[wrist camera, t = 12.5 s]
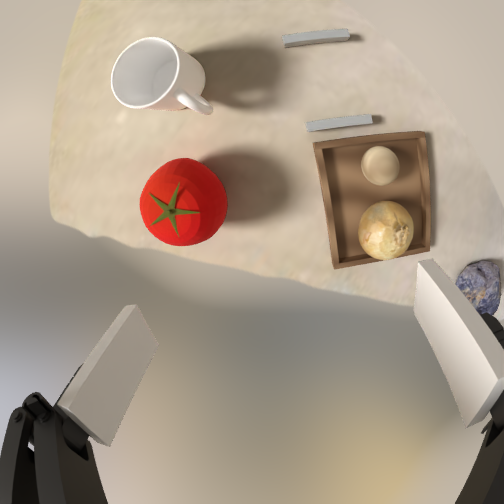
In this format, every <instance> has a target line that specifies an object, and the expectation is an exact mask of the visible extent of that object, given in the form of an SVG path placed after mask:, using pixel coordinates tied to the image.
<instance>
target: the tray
mask: <svg viewBox="0 0 504 504" xmlns="http://www.w3.org/2000/svg"><path fill="white" fill-rule="evenodd" d="M375 146H383V147H386V148H388V149H390V150H391V151H392V152H393V153H394V154H395V155H396V157H397V159H398V161H399V167H400V168H399V173H398V176H397V178H396V179H395V180H394V181H393V182H392V183H390V184H388V185H383V186H381V185H376V184H373V183H371V182H370V181H369V180H368V179H367V178H366V177H365V176H364V174H363V172H362V168H361V161H362V157H363V155H364V154H365V152H366V151H367V150H368V149H370V148H372V147H375ZM313 148H314V152H315V157H316V162H317V167H318V173H319V178H320V184H321V189H322V195H323V201H324V207H325V214H326V220H327V227H328V234H329V241H330V249H331V257H332V264H333V267H334V269H339V268H345V267H350V266H356V265H361V264H367V263H372V262H378V261H383V260H380V259H376V258H373V257H371V256H370V255H368V254H367V253H366V252H365V251H364V249H363V248H362V246H361V244H360V241H359V236H358V228H359V223H360V220H361V217H362V215H363V214H364V213H365V211H366V210H367V209H368V208H369V207H370V206H371V205H373V204H375V203H377V202H380V201H393V202H396V203H398V204H400V205H401V206H402V207H404V208H405V209H406V210H407V212H408V213H409V214H410V216H411V218H412V220H413V225H414V230H413V238H412V241H411V243H410V245H409V247H408V248H407V250H406V251H405V252H404V253H403V254H401V255H400V256H398V257H403V256H408V255H413V254H418V253H423V252H428V251H430V234H431V201H430V179H429V166H428V155H427V146H426V139H425V132H422V131H412V132H398V133H386V134H375V135H366V136H357V137H349V138H342V139H335V140H328V141H321V142H315V143H313ZM375 210H376V209H375ZM398 257H396V258H398Z"/></svg>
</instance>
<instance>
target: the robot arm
mask: <svg viewBox="0 0 504 504" xmlns="http://www.w3.org/2000/svg"><path fill="white" fill-rule="evenodd" d="M414 314H415V316H416V318H417V320H418V322H419V323H420V325H421V327H422V329H423V331H424V333H425V335H426V336H427V339H428V341H429V342H430V345H431V347H432V349H433V351H434V353H435V355H436V357H437V359H438V361H439V363H440V365H441V368H442V370H443V372H444V374H445V377H446V379H447V381H448V383H449V386H450V388H451V391H452V393H453V395H454V398H455V400H456V403H457V406H458V408H459V411H460V413H461V416H462V419H463V422H464V424H465V427H466V428H468V427H470V426H472V425H474V424H476V423H478V422H480V421H482V420H483V419H484V418H485V417H486V415H487V414H488V413H489V411H490V413H491V415H492V418H491V420H490V421H489V422H488V424H487V425H486V426H485V427H484V428H483V430H482V432H481V433H482V434H483V433H484V432H485V431H486V430H487V432H486V435H485V438H484V440H483V443H482V446H481V449H480V451H479V454H478V456H477V459H476V461H475V464H474V466H473V468H472V471H471V473H470V475H469V477H468V479H467V481H466V483H465V485H464V487H463V489H462V491H461V493H460V495H459V497H458V498H457V500H456V502H455V504H504V328H503V327H502V325H501V324H500V323H499V321H498V320H497V319H496V318H495V317H493V316H492V315H490V314H489V313H487V312H486V313H483V314H480V315H479V313H478V312H477V311H476V309H475V308H474V307H473V306H472V304H471V303H470V302H469V300H468V299H467V298H466V297H465V295H464V294H463V293H462V292H461V291H460V289H459V288H458V287H457V286H456V284H455V283H454V282H453V281H452V280H451V279H450V277H449V276H448V275H447V274H446V273H445V272H444V271H443V269H442V268H441V267H440V266H439V265H438V264H437V263H436V262H435V261H434V259H433V258H432V259H428V260H423V261H419V262H418V271H417V284H416V294H415V304H414ZM158 346H159V344H158V343H157V341H156V339H155V337H154V336H153V334H152V332H151V330H150V328H149V326H148V325H147V323H146V321H145V319H144V317H143V315H142V313H141V311H140V310H139V308H138V306H137V305H128V306H125V307H124V308H123V310H122V311H121V312H120V314H119V315H118V316H117V318H116V319H115V321H114V322H113V323H112V324H111V326H110V327H109V329H108V330H107V331H106V333H105V334H104V335H103V337H102V338H101V340H100V341H99V342H98V344H97V345H96V347H95V348H94V349H93V351H92V352H91V354H90V355H89V356H88V358H87V359H86V361H85V362H84V363H83V364H82V365H81V366H80V367H79V368H78V370H77V371H76V373H75V374H74V377H72V379H71V380H70V383H68V385H67V386H66V388H65V389H64V391H63V393H62V394H61V395H60V397H59V399H58V400H57V402H56V403H55V405H54V406H53V407H52V406H51V405H50V404H49V403H48V402H47V400H46V399H45V398H44V397H43V396H42V395H41V394H40V393H38V392H35V393H32V394H30V395H29V396H28V397H27V398H26V399H25V400H24V402H23V404H22V407H18V408H16V409H15V410H14V411H13V413H12V414H11V416H10V419H9V423H8V427H7V430H6V434H5V438H4V442H3V446H2V451H1V456H0V504H108V502H107V499H106V496H105V493H104V490H103V487H102V484H101V480H100V477H99V473H98V470H97V466H96V462H95V458H94V454H93V449H92V445H91V443H90V441H88V440H87V439H88V437H89V436H90V437H92V438H93V439H94V440H95V441H96V442H98V443H100V444H103V445H106V446H109V447H110V446H111V443H112V441H113V439H114V437H115V434H116V432H117V430H118V428H119V425H120V423H121V421H122V419H123V417H124V415H125V413H126V411H127V409H128V407H129V404H130V402H131V400H132V398H133V396H134V394H135V392H136V390H137V388H138V386H139V384H140V382H141V380H142V378H143V375H144V374H145V372H146V370H147V368H148V366H149V364H150V362H151V360H152V357H153V356H154V354H155V352H156V350H157V348H158ZM28 442H30V443H31V444H32V445H33V446H34V451H32V450H31V449H30V448H29V447H28Z"/></svg>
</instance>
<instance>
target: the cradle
mask: <svg viewBox="0 0 504 504" xmlns="http://www.w3.org/2000/svg"><path fill="white" fill-rule="evenodd" d="M349 37H350V35H349V32H348V29H335V30H322V31H312V32H304V33H296V34H289V35H283V36H282V40H283V44H284V47H285V48H287V47H293V46H300V45H307V44H315V43H325V42H337V41H347V40H348V39H349ZM371 123H373V122H372V117H371V114H367V115H357V116H348V117H339V118H332V119H325V120H318V121H311V122H306V123H305V125H306V130H307V132H310V131H316V130H322V129H329V128H336V127H344V126H352V125H361V124H371Z"/></svg>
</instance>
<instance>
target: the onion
mask: <svg viewBox="0 0 504 504" xmlns="http://www.w3.org/2000/svg"><path fill="white" fill-rule="evenodd" d="M375 209H376V210H375ZM413 230H414V225H413V220H412V218H411V216H410V214H409V213H408V212H407V210H406V209H405V208H404V207H402V206H401V205H400V204H398V203H396V202H393V201H380V202H377V203H375V204H373V205H371V206H370V207H369V208H368V209H367V210H366V211H365V213H364V214H363V215H362V217H361V220H360V223H359V228H358V236H359V241H360V244H361V246H362V248H363V249H364V251H365V252H366V253H367V254H368V255H370V256H371V257H373V258H376V259H380V260H390V259H394V258H396V257H398V256H400V255H401V254H403V253H404V252H405V251H406V250H407V248H408V247H409V245H410V243H411V241H412V238H413Z"/></svg>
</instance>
